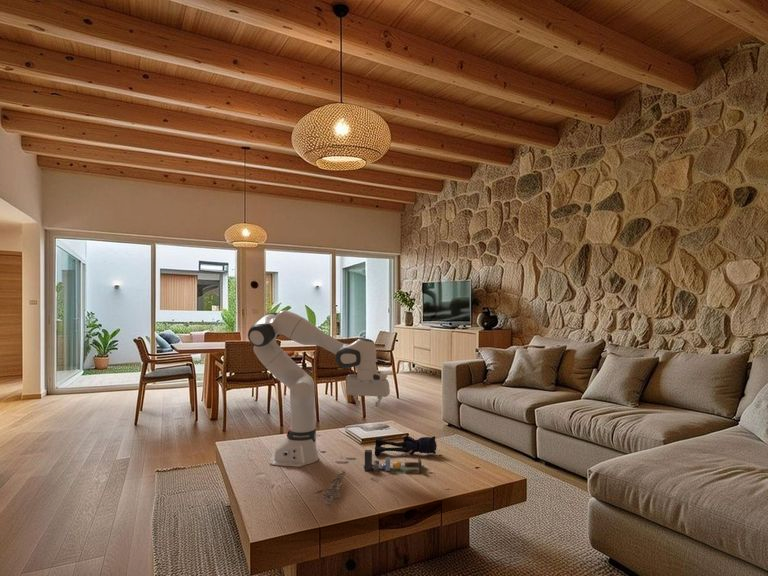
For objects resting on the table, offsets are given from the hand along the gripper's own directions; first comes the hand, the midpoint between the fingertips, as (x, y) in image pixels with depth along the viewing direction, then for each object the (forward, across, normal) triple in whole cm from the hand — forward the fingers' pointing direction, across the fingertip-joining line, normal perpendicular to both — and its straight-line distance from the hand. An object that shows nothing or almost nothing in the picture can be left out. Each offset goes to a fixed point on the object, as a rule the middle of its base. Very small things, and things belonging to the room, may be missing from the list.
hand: (367, 405), depth 203 cm
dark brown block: (+27, +4, -2) cm, 28 cm away
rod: (+27, +4, -2) cm, 28 cm away
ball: (+26, +13, +1) cm, 28 cm away
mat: (+28, +17, +3) cm, 33 cm away
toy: (+28, +10, +20) cm, 36 cm away
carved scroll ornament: (+27, -1, -32) cm, 42 cm away
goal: (+27, +19, +3) cm, 33 cm away
